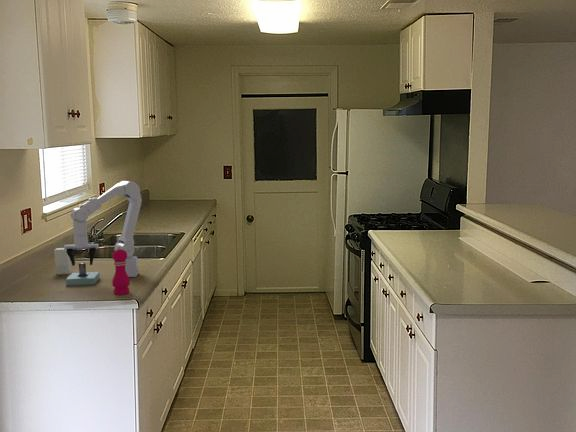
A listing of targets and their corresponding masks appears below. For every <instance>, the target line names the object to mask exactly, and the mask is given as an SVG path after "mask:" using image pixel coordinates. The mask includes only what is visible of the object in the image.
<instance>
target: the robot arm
mask: <svg viewBox="0 0 576 432" xmlns="http://www.w3.org/2000/svg"><path fill="white" fill-rule="evenodd" d="M140 191H141V188H140V186H139V185H138V184H137V183H136V182H135V181H129V180H126V179H125V180H121V181H120V182H117V183H116V184H115V185H113V186H112V187H111V188H109V189H108V190H106V191H105V192H104V193H103V194H101V195H99V196H98V197H89V198H87V201H86V202H84V203H83V204H79V207H75V208H73V209H72V210H71V212H70V213H71V214H70V218H71V219H72V221H73V222H72V227H73V229H72V231H73V243H71V244H63V248H64V250H67V251H66V252H67V254H68V256H69V257H70V263H71V265H72V266H73V267H74V266H75V265H76V261H75V250H88V254H89V255H88V256H89V265H90V266H92V265H93V264H94V263H93V262H94V256H95V254H96V252H97V250H98V249H99V246H100V245H99V243H89V238H88V237H89V236H88V223H87V221H88V218H89V217H90V216H91V215H93V214H94V213H96V212H97V211H99V210H100V209H101V208H102V205H104V204H105V203H106V202H108V201H109V200H111V199H113V198H114V197H116V196H124V197H125V198H126V199H127V201H128V207H127V211H126V215H125V219H124V223H123V228H122V231H121V235H120V236H119V237H118V239H117V242H116V243H115V244H114V248H113V250H114V251H115V250H118V249H117V247H118V246H121V247H122V250H125V251H126V253H127V259H126V260H125V261H126V265H125V270H126V273H127V275H128V277H129V278H137V276H138V274H139V259H138V256H133V255H134V253H135V240H134V235H135V231H136V226H137V222H138V218H139V213H140V210H141V207H142V202H143V200H142V195H141V192H140Z"/></svg>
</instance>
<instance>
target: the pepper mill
mask: <svg viewBox="0 0 576 432" xmlns="http://www.w3.org/2000/svg"><path fill="white" fill-rule="evenodd" d="M117 249H118V250H114V251H113V252H112V255H111V257H112V259H113V265H114V266H115V271H114V275H113V277H112V281H111V284H112V286H113V288H114V289H113V294H114V295H118V296H123V295H128V294H130V288H129V286H130V285H131V280H130V277H128V275H127V273H126V270H125V265H126V261H125V260H126V259H127V253H126V251H125V250H122V247H121V246H118V247H117Z"/></svg>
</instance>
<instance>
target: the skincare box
mask: <svg viewBox="0 0 576 432" xmlns="http://www.w3.org/2000/svg"><path fill="white" fill-rule="evenodd" d="M66 251H67V250H64V247H59V248H58V247H56V248H55V249H53V253H54V266H55V272H56V275H71V274H72V268H71V260H70V257H69V256H68V254H67V252H66Z"/></svg>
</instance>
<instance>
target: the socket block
mask: <svg viewBox="0 0 576 432" xmlns="http://www.w3.org/2000/svg"><path fill="white" fill-rule="evenodd" d="M99 280H100V271H94V272H93V271H91V272H88V271H86V277H79V272H71V273H70V274H69V275H68V276H67V278H65V286H66V287H70V286H71V287H72V286H73V287H75V286H77V287H78V286H94V285H96V283H98V281H99Z"/></svg>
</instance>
